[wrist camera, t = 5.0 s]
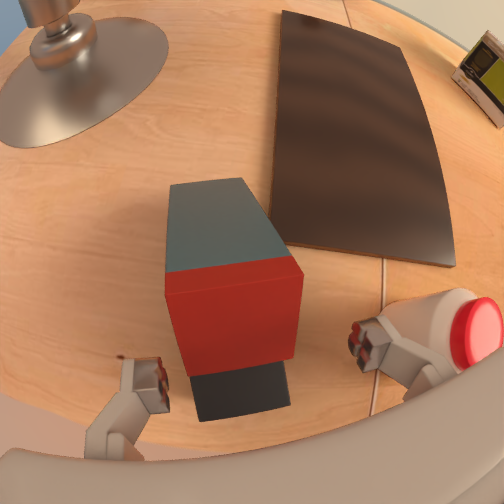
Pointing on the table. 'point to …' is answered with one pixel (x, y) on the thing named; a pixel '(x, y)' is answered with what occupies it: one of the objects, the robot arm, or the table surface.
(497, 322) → the pill bottle
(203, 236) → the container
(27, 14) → the desk lamp
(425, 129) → the board
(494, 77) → the tea box
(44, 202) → the table surface
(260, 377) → the block
